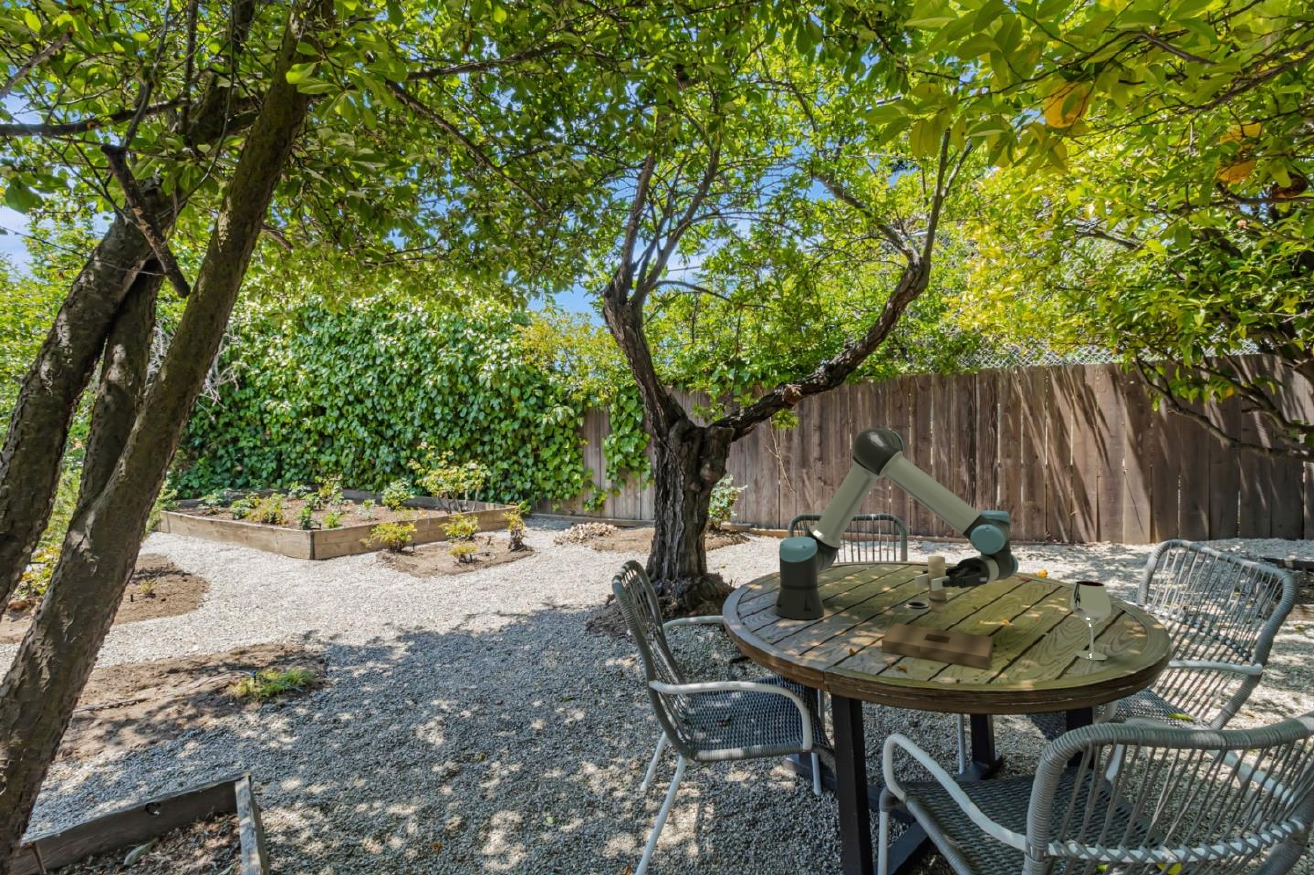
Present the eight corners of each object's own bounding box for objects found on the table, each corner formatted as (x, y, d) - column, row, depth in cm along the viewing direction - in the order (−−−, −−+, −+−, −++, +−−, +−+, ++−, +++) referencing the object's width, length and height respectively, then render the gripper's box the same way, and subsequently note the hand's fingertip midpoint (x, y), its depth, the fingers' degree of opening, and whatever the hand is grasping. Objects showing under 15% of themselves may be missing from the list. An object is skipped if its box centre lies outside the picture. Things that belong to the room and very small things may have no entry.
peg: (928, 612, 152) (926, 558, 152) (930, 608, 155) (929, 555, 156) (946, 614, 150) (944, 559, 150) (948, 610, 153) (946, 556, 153)
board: (881, 651, 153) (881, 639, 153) (895, 633, 166) (894, 623, 166) (987, 669, 139) (987, 656, 139) (992, 648, 153) (992, 637, 153)
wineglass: (1114, 655, 146) (1112, 582, 147) (1110, 665, 140) (1108, 589, 141) (1074, 648, 152) (1072, 578, 152) (1069, 657, 146) (1067, 584, 146)
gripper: (1008, 590, 155) (956, 605, 143) (947, 579, 169) (895, 591, 157) (1008, 562, 155) (955, 574, 143) (947, 552, 169) (894, 563, 157)
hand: (924, 583), depth 150 cm, fingers closed on peg, 4 cm apart
